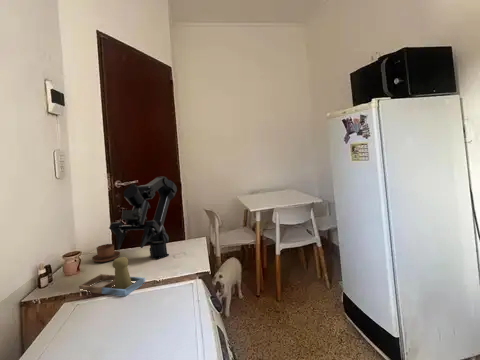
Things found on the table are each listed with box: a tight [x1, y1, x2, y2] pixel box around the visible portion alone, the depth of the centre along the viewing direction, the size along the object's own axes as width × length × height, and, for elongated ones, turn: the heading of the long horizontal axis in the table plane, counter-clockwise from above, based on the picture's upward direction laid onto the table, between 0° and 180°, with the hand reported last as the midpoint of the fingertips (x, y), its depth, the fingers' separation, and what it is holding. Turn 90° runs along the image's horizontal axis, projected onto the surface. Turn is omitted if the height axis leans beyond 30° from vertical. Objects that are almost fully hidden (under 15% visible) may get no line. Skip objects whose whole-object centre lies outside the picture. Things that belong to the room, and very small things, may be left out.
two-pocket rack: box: [78, 273, 146, 297], centre depth 122 cm, size 20×11×2 cm, turn 68°
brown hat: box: [91, 243, 121, 263], centre depth 155 cm, size 12×12×6 cm
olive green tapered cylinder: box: [112, 256, 133, 289], centre depth 120 cm, size 6×6×11 cm
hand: (129, 247), depth 126 cm, fingers open, 9 cm apart
